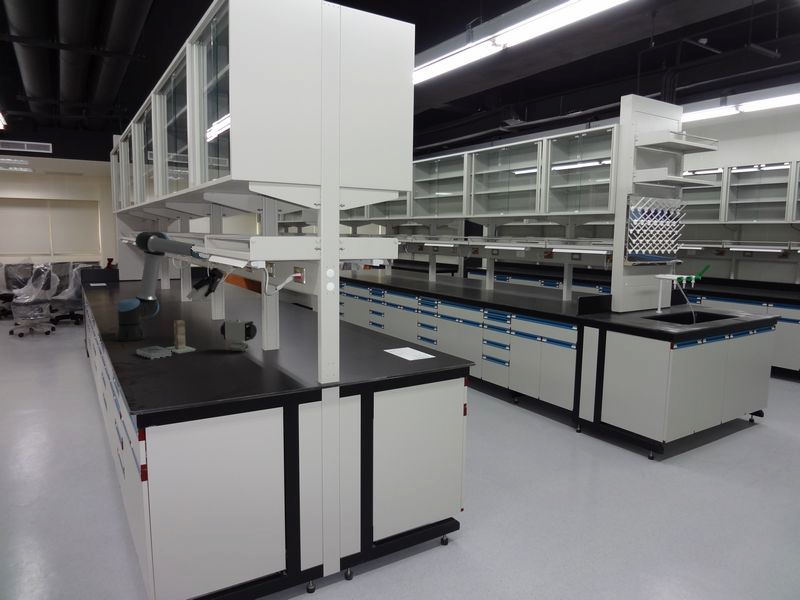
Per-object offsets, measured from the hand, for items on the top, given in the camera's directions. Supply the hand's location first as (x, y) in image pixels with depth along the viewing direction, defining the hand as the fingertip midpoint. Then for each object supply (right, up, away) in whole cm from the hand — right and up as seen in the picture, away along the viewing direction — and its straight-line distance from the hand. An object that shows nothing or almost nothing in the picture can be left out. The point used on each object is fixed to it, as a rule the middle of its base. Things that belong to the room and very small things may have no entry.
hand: (194, 299), depth 287 cm
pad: (-3, -28, -10) cm, 30 cm away
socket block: (-11, -29, -23) cm, 39 cm away
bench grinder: (+28, -28, -10) cm, 41 cm away
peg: (-3, -27, -11) cm, 29 cm away
